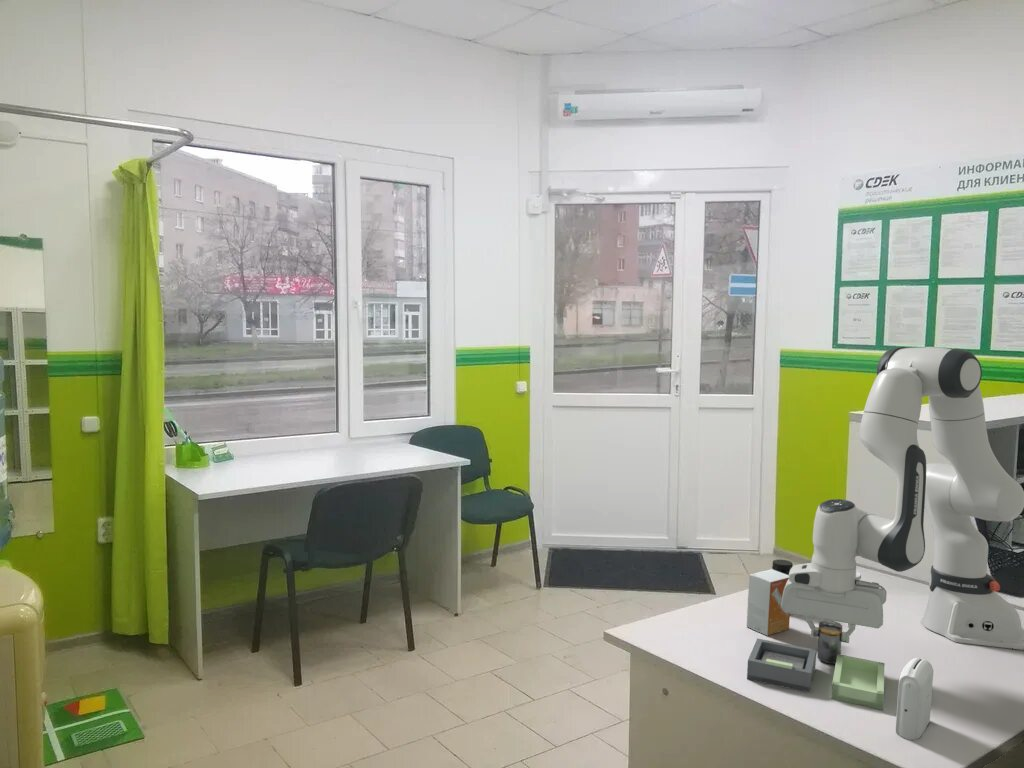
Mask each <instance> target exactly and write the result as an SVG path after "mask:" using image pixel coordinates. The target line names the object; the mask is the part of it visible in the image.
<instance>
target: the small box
mask: <svg viewBox="0 0 1024 768" xmlns="http://www.w3.org/2000/svg"><path fill="white" fill-rule="evenodd" d="M788 579H789V575H786V574H784V573H781V572H778V571H775V570H773V569H772V568H770V569H767V570H766V569H765V570H761V571H758V572H754V573H751V574H749V575H748V593H747V596H748V597H747V611H746V614H747V615H746V626H747V627H746V628H748V627H749V628H748V629H750V628H751V629H750V630H752V629H753V630H752V631H754V630H756V631H755V632H757V631H758V632H757V633H759V632H760V633H759V634H761V633H762V635H764V636H766V635H767V636H766V637H768V635H769V636H771V635H775V634H777V633H779V632H780V631H781V632H783V630H784V631H788V630H789V628H790V618H791V617H790V616H791V613H785V612H784V611H783V610H782V608H781V603H782V596H783V592H784V588H785V585H786V583H787V581H788ZM787 629H788V630H787Z"/></svg>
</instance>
